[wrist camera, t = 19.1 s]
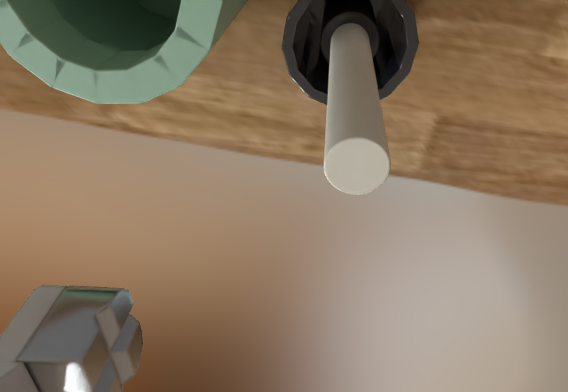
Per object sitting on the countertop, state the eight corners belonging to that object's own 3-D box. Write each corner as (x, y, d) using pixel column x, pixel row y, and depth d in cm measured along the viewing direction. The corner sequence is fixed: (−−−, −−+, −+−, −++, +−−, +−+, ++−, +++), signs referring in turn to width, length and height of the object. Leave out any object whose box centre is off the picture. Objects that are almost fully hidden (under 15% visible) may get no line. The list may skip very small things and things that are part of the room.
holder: (291, -45, 27) (277, -23, 21) (406, -51, 26) (425, -30, 20) (295, 63, 30) (285, 109, 24) (398, 61, 29) (412, 107, 24)
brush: (322, -9, 27) (303, 120, 13) (374, -11, 27) (414, 118, 12) (323, 42, 28) (306, 209, 14) (372, 41, 28) (405, 210, 14)
